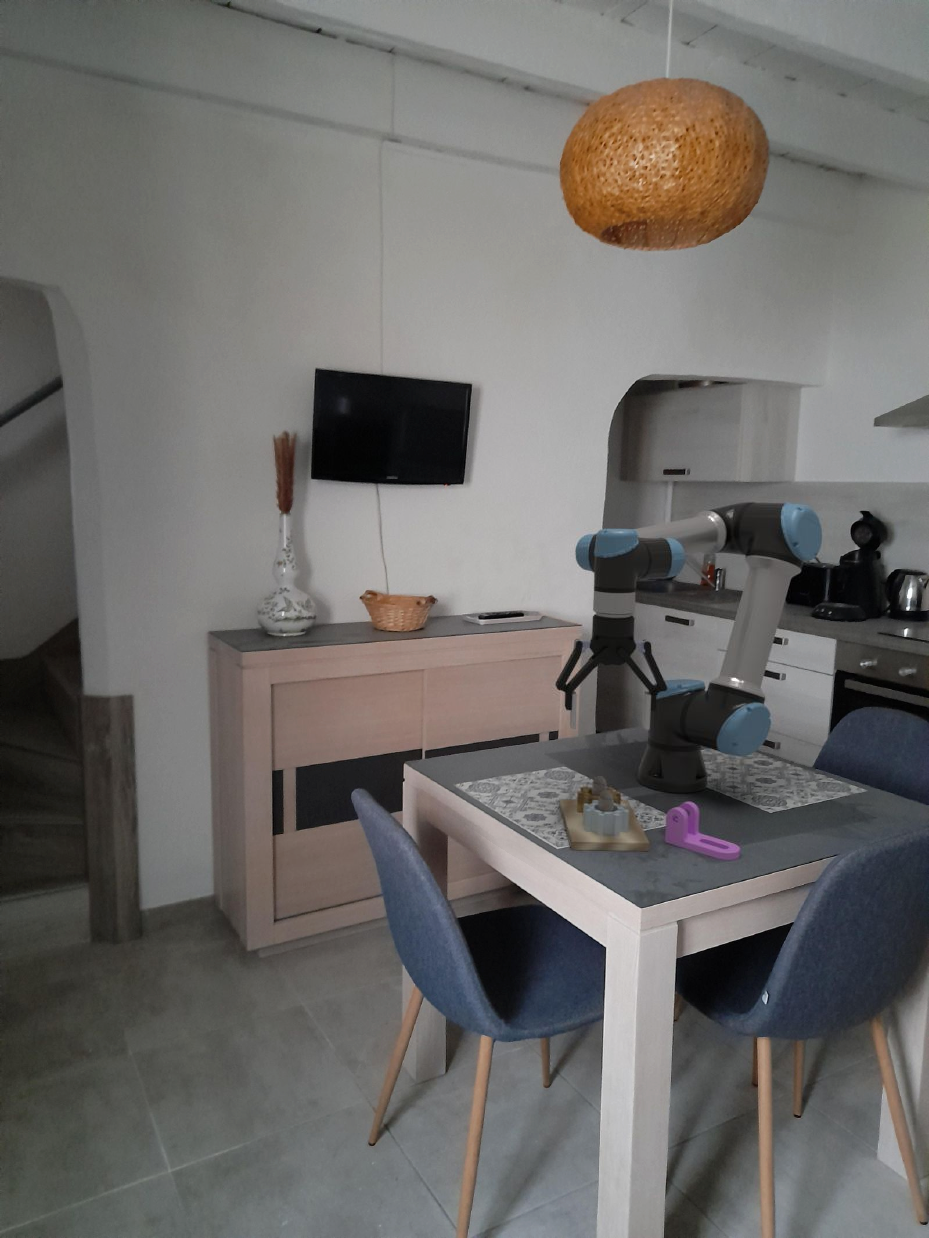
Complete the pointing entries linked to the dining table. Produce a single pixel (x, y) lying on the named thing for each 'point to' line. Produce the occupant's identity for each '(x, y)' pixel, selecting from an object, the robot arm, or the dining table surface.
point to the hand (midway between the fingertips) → (609, 727)
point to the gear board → (605, 840)
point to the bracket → (695, 834)
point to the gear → (605, 819)
